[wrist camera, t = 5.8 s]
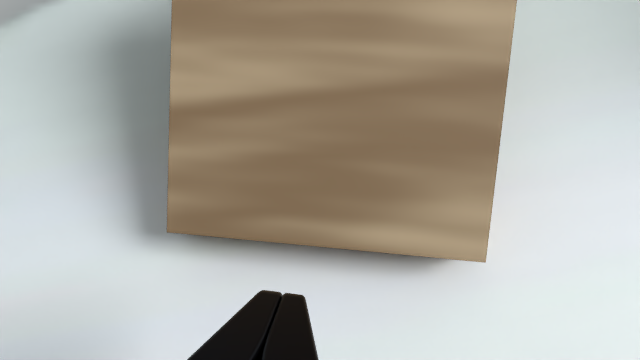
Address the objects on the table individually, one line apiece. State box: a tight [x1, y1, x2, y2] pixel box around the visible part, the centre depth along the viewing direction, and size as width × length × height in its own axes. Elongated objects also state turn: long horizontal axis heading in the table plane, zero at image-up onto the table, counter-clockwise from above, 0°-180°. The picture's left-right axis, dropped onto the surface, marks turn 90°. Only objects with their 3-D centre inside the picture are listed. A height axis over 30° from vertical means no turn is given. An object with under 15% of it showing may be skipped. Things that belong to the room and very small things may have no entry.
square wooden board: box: [167, 0, 517, 262], centre depth 14 cm, size 2×10×10 cm
